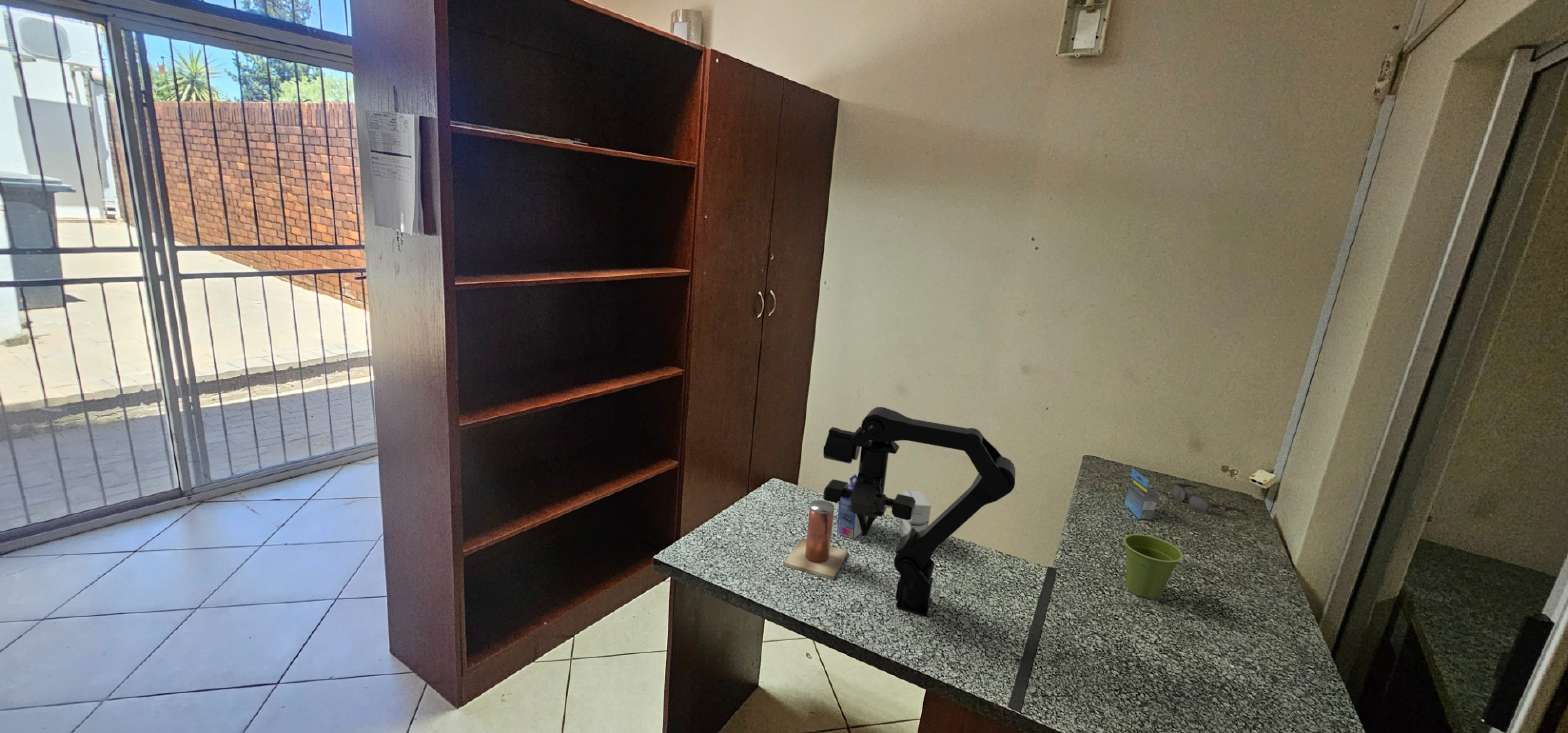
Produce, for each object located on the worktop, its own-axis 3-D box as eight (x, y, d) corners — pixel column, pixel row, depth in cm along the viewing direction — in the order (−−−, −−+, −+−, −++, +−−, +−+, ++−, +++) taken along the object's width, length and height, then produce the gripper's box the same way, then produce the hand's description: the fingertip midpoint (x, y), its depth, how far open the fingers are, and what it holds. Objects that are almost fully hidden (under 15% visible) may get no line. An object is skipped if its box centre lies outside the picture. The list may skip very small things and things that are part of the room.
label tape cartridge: (1152, 520, 177) (1162, 481, 174) (1139, 519, 177) (1148, 480, 174) (1136, 506, 185) (1144, 468, 182) (1123, 505, 185) (1131, 467, 182)
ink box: (926, 548, 152) (932, 505, 149) (906, 548, 152) (912, 505, 149) (915, 531, 160) (921, 490, 158) (897, 530, 160) (902, 489, 157)
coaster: (847, 553, 147) (847, 550, 147) (833, 579, 136) (833, 576, 136) (800, 541, 151) (801, 538, 151) (783, 565, 140) (783, 562, 140)
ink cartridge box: (851, 518, 165) (857, 468, 161) (870, 525, 162) (876, 474, 158) (834, 533, 156) (839, 481, 153) (853, 540, 154) (859, 487, 150)
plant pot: (1122, 569, 149) (1132, 528, 146) (1178, 593, 141) (1189, 549, 138) (1106, 587, 141) (1116, 544, 138) (1163, 613, 133) (1175, 567, 130)
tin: (831, 553, 145) (837, 503, 142) (825, 565, 140) (830, 513, 137) (809, 547, 147) (814, 498, 144) (801, 559, 142) (806, 508, 139)
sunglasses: (1161, 493, 196) (1166, 479, 195) (1201, 497, 201) (1206, 483, 200) (1206, 518, 181) (1212, 503, 180) (1249, 522, 185) (1254, 507, 184)
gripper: (818, 472, 122) (811, 541, 126) (910, 493, 116) (901, 565, 120) (834, 453, 133) (827, 518, 136) (920, 472, 126) (910, 539, 130)
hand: (864, 535), depth 131 cm, fingers closed
